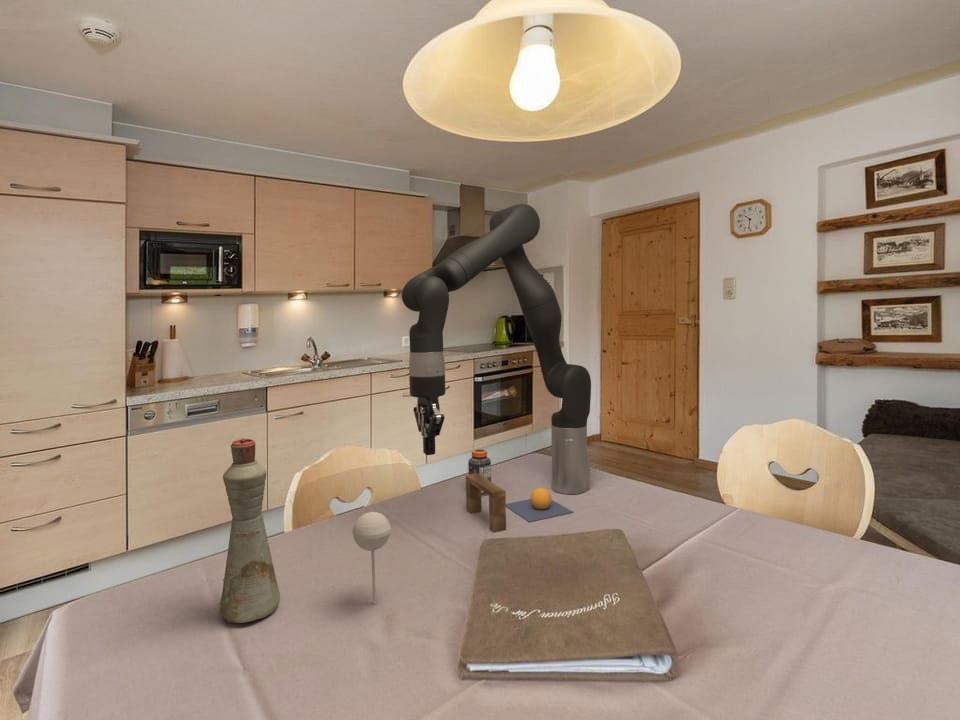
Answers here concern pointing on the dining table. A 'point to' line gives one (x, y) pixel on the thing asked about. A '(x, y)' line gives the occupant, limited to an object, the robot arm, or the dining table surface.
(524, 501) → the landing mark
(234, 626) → the dining table surface
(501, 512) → the bridge
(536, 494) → the ball
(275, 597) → the bottle
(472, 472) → the pill bottle
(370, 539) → the lollipop
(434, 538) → the dining table surface
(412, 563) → the dining table surface
